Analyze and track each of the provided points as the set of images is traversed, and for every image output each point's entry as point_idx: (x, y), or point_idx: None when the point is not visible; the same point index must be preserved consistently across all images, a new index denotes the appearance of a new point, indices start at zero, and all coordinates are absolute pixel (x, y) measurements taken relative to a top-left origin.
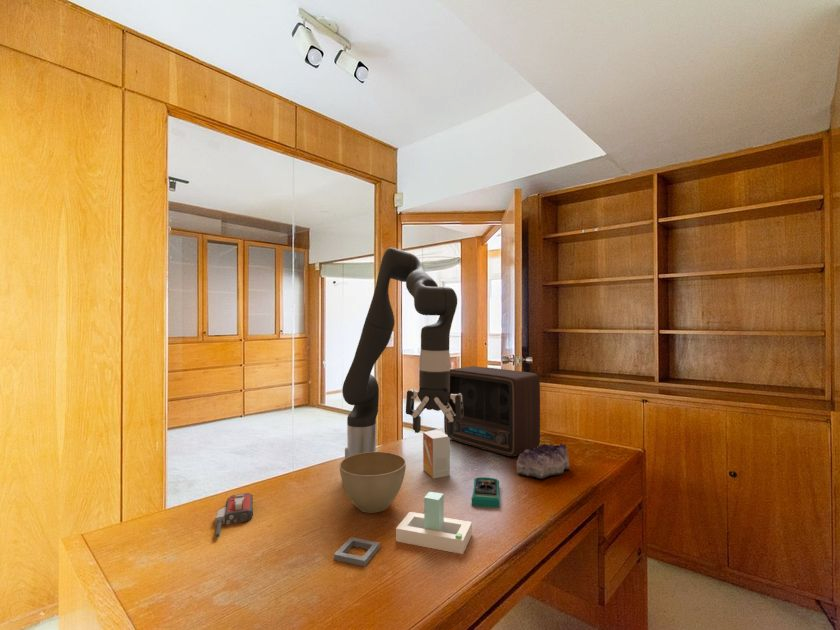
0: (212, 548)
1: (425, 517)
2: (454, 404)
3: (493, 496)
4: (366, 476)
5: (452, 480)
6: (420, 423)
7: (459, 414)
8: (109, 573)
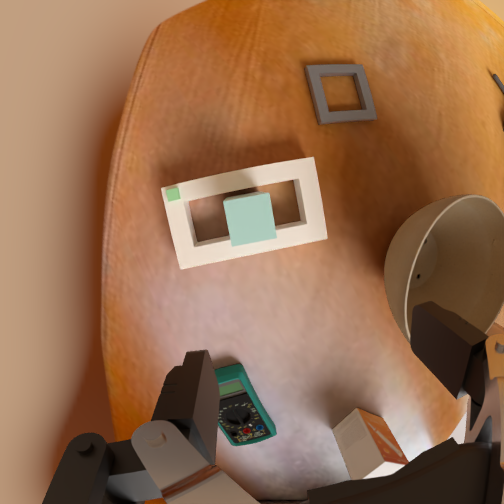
0: (480, 59)
1: (260, 192)
2: None
3: None
4: (452, 201)
5: (320, 419)
6: (432, 369)
7: (66, 467)
8: (487, 14)
